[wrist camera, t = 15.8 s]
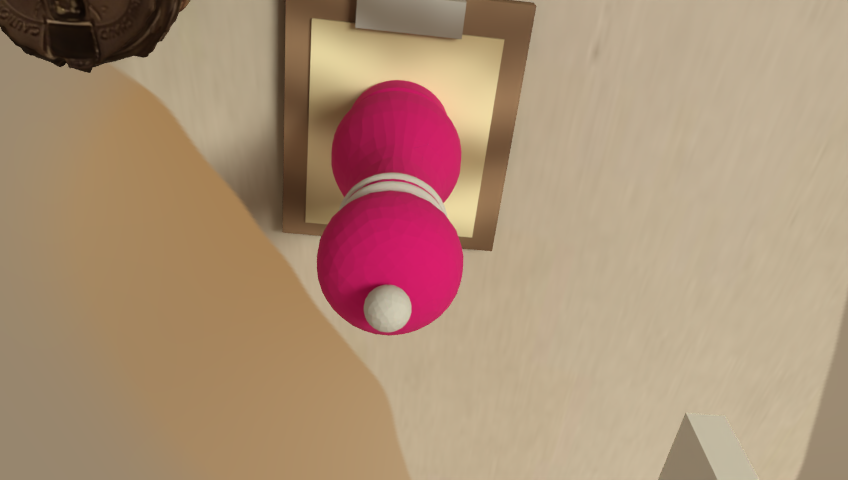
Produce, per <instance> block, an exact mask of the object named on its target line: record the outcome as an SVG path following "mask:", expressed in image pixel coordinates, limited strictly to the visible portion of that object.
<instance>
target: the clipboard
mask: <svg viewBox="0 0 848 480" xmlns="http://www.w3.org/2000/svg"><path fill="white" fill-rule="evenodd" d="M535 10H536V5H535V4H534V3H531V2H522V1H513V0H286V21H285V93H284V166H283V232H285V233H297V234H308V235H319V236H322V234H323V232H324V230H325V228H326V226H327V225H328V223H329V222H330V220H331V218H332V217H333V216H334V215H335V214H336V213H337V212H338V211H339V208H340V205H341V203H342V201H343V199H344V196H343V195H342V193H341V191H340V190H339V187H338V185H337V183H336V181H335V178H334V175H333V171H332V166H331V152H332V143H333V138H334V134H335V132H336V129H337V127H338V125H339V123H340V122H341V120H342V119H343V117H344V116H345V115H346V114H347V113H348V112H349V110H350V109H351V108H352V106H353V104H354V103H355V101H356V100H357V98H358V97H359V96H360V95H361V94H362V93H363V92H365V91H366V90H368V89H369V88H371V87H372V86H374V85H376V84H378V83H381V82H385V81H390V80H405V81H410V82H414V83H416V84H419V85H421V86H423V87H425V88H426V89H428V90H429V91H431V92H432V93H433V94H434V95H435V96H436V97H437V98H438V99H439V100H440V102H441V103H442V105H443V106H444V109H445V111H446V113H447V116H448V117H449V118H450V120H451V121H452V123H453V125H454V126H455V128H456V130H457V133H458V136H459V139H460V144H461V151H462V153H461V168H460V175H459V177H458V180H457V183H456V185H455V187H454V189H453V191H452V193H451V194H450V196H449V197H448V199H447V200H446V201H445V202H444V203H443V204H444V206H445V209H446V213H447V217H448V219H449V221H450V222H451V224H452V225H453V226H454V228H455V229H456V231H457V234H458V237H459V240H460V243H461V246H462V248H463V249H474V250H485V251H492V247H493V242H494V236H495V231H496V225H497V220H498V214H499V209H500V203H501V198H502V192H503V187H504V181H505V176H506V170H507V165H508V159H509V154H510V148H511V143H512V137H513V131H514V126H515V120H516V115H517V109H518V104H519V98H520V93H521V87H522V82H523V76H524V71H525V65H526V60H527V54H528V49H529V43H530V38H531V32H532V27H533V21H534V15H535Z"/></svg>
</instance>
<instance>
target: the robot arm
mask: <svg viewBox="0 0 848 480" xmlns="http://www.w3.org/2000/svg"><path fill="white" fill-rule="evenodd" d="M658 480H759V478H758V476H757V474H756V472H755V470H754V468H753V467H752V465H751V463H750V461H749V459H748V457H747V455H746V454H745V452H744V450H743V448H742V446H741V444H740V442H739V440H738V439H737V437H736V435H735V433H734V431H733V429H732V427H731V426H730V424H729V422H728V420H727V418H726V416H724V415H711V414H697V413H685V416H684V418H683V421H682V423H681V425H680V428H679V430H678V433H677V435H676V438H675V440H674V442H673V445H672V447H671V450H670V452H669V455H668V457H667V459H666V462H665V464H664V467H663V469H662V472H661V474H660V477H659V479H658Z"/></svg>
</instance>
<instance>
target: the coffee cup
mask: <svg viewBox="0 0 848 480" xmlns="http://www.w3.org/2000/svg"><path fill="white" fill-rule="evenodd" d="M189 2H190V0H0V27H1V29H2V31H3V32H4V33H5V34H6V35H7V36H8V37H9V38H10V39H11V40H12V41H13V42H14V44H15V45H17V46H19V47H21V48H22V50H23V51H24V52H25V53H26V54H29V55H34V56H36V57H38V58H41V59H43V60H46V61H49V62H52V63H54V64H55V65H57V66H59V67H61V66H64V65H65V63H67V64H68V66H69V67H70V68H75V69H78V70H81V71H84V72H88V73H90V72H91V70H92V67H96V66H99V65H101V64H104V63H108V62H113V61H117V60H121V59H124V58H127V57H131V56H139V57H147V56H148V55H149V53H151V52H152V51H153V50H154V49H155V46H156V44H157V43H158V42H159V41H162V40H163V39H164V37H165V36H166V34H167V33H168V32H169V30H170V27H171V26H172V24H173V23H174V22H175V21H176V19H177V16H178V13H179V12H180V11H182V10H183V9H184V8H185V7H186V6H187V5H188V3H189Z"/></svg>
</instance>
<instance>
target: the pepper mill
mask: <svg viewBox="0 0 848 480" xmlns="http://www.w3.org/2000/svg"><path fill="white" fill-rule="evenodd" d="M461 153H462V151H461V144H460V139H459V136H458V133H457V130H456V128H455V126H454V125H453V123H452V121H451V120H450V118H449V117H448V116H447V113H446V111H445V109H444V106H443V105H442V103H441V102H440V100H439V99H438V98H437V97H436V96H435V95H434V94H433V93H432V92H431V91H429V90H428V89H426V88H425V87H423V86H421V85H419V84H416V83H414V82H410V81H405V80H390V81H385V82H381V83H378V84H376V85H374V86H372V87H371V88H369V89H368V90H366V91H365V92H363V93H362V94H361V95H360V96H359V97H358V98H357V100H356V101H355V103H354V104H353V106H352V108H351V109H350V110H349V112H348V113H347V114H346V115H345V116H344V117H343V119H342V120H341V122H340V123H339V125H338V127H337V129H336V132H335V134H334V138H333V143H332V152H331V166H332V171H333V175H334V178H335V181H336V183H337V185H338V187H339V190H340V191H341V193H342V195H343V196H344V199H343V201H342V203H341V205H340V208H339V211H338V212H337V213H336V214H335V215H334V216H333V217H332V218H331V220H330V222H329V223H328V225H327V226H326V228H325V230H324V232H323V234H322V236H321V239H320V243H319V248H318V254H317V272H318V280H319V283H320V286H321V289H322V292H323V294H324V296H325V298H326V299H327V301H328V302H329V304H330V305H331V307H332V308H333V309H334V310H335V311H336V312H337V313H338V314H339V315H340V316H341V317H342V318H343V319H345V320H346V321H348V322H349V323H350V324H352V325H353V326H355V327H357V328H360V329H362V330H364V331H367V332H370V333H374V334H380V335H398V334H405V333H409V332H412V331H416V330H418V329H420V328H422V327H424V326H426V325H428V324H430V323H431V322H433V321H434V320H435V319H437V318H438V317H439V316H441V314H442V313H443V312H444V311H445V310H446V309H447V308H448V307H449V305H450V304H451V302H452V301H453V299H454V297H455V296H456V294H457V291H458V288H459V285H460V282H461V278H462V271H463V252H462V246H461V243H460V240H459V237H458V234H457V231H456V229H455V228H454V226H453V225H452V224H451V222H450V221H449V219H448V217H447V213H446V209H445V206H444V204H443V203H444V202H445V201H446V200H447V199H448V197H449V196H450V194H451V193H452V191H453V189H454V187H455V185H456V183H457V180H458V177H459V175H460V168H461Z"/></svg>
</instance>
